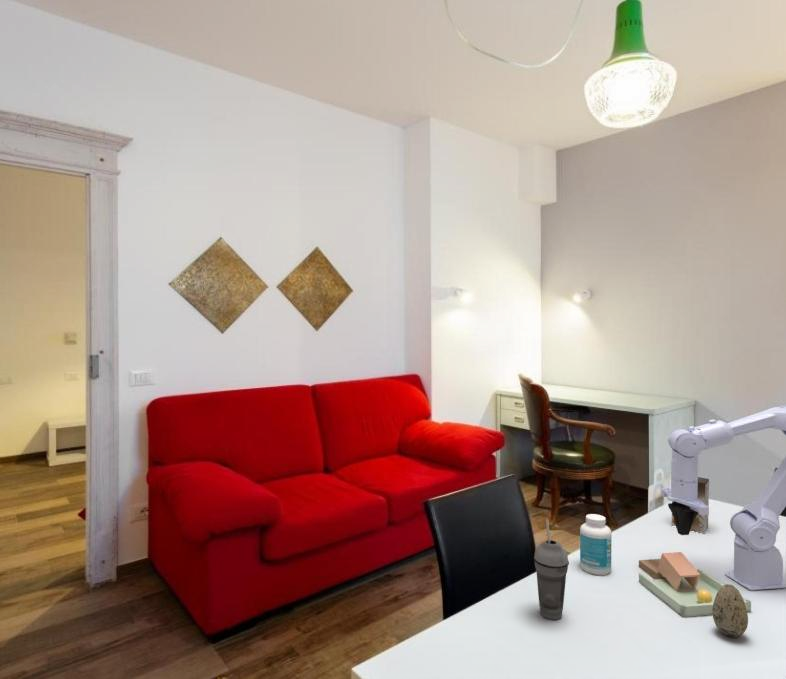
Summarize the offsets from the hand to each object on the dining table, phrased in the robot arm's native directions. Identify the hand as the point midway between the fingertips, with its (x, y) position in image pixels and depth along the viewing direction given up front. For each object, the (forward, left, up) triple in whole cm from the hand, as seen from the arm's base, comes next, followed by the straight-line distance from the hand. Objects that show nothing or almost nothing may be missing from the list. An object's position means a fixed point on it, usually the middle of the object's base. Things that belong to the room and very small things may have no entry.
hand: (683, 534), depth 128 cm
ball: (+5, +13, -7) cm, 16 cm away
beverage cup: (+40, +12, -11) cm, 43 cm away
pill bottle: (+20, -6, -11) cm, 23 cm away
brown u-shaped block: (+5, +2, -6) cm, 8 cm away
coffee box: (-22, -27, -11) cm, 36 cm away
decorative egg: (+8, +24, -11) cm, 27 cm away
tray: (+5, +9, -10) cm, 15 cm away
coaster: (+5, -2, -10) cm, 12 cm away
